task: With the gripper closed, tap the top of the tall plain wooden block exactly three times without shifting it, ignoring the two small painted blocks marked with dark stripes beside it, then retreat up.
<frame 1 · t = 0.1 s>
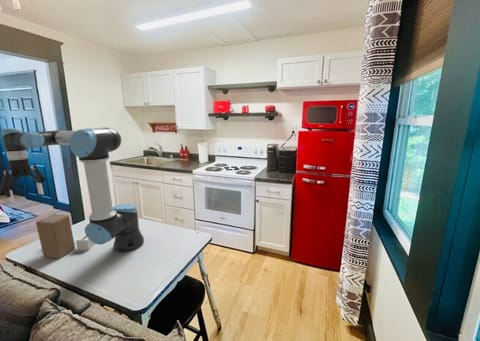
hand: (27, 198, 123), 28 cm above the table, fingers open, 13 cm apart
grey marked cube: (87, 247, 127), on the table
wooden block: (60, 253, 122), on the table
sage marked block: (63, 243, 131), on the table
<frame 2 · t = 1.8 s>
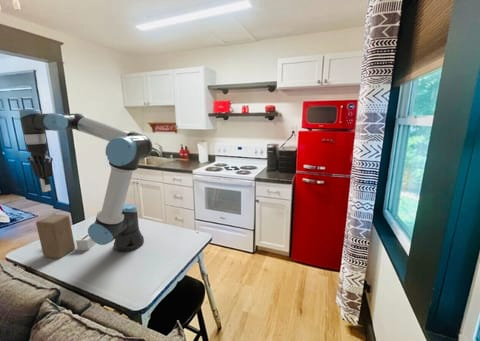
hand: (46, 190, 114), 34 cm above the table, fingers closed
nothing on the table moved.
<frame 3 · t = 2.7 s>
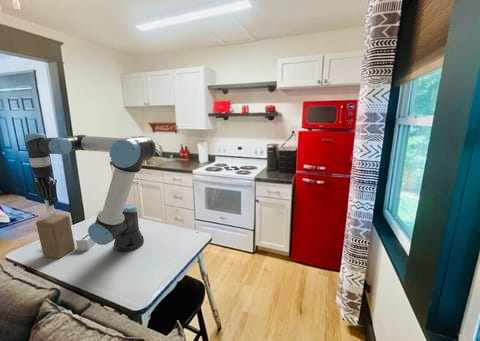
hand: (51, 211, 116), 24 cm above the table, fingers closed
nothing on the table moved.
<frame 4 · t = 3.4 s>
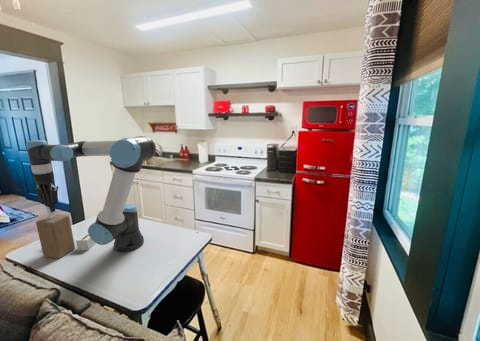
hand: (52, 217, 117), 20 cm above the table, fingers closed
wooden block: (60, 253, 122), on the table, touching gripper
everything else where it was.
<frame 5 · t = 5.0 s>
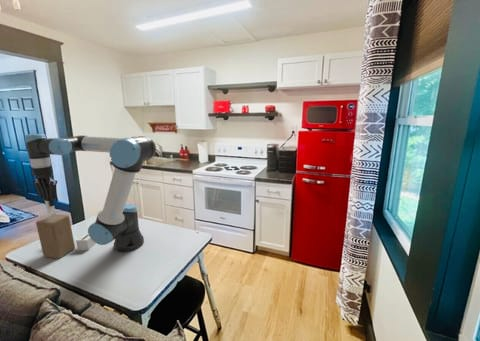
hand: (51, 211, 116), 23 cm above the table, fingers closed
wooden block: (60, 253, 122), on the table
everything else where it was.
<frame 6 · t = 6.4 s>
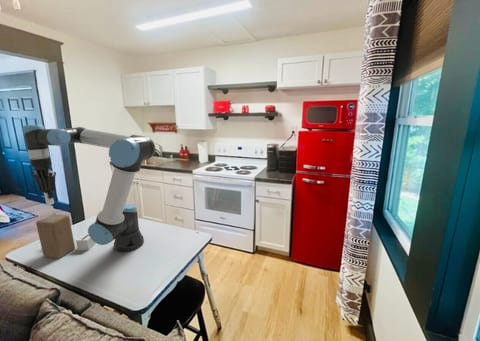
hand: (50, 204, 115), 27 cm above the table, fingers closed
nothing on the table moved.
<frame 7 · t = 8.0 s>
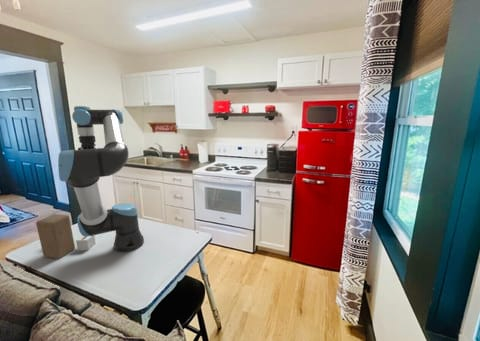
hand: (93, 176, 132), 36 cm above the table, fingers closed
nothing on the table moved.
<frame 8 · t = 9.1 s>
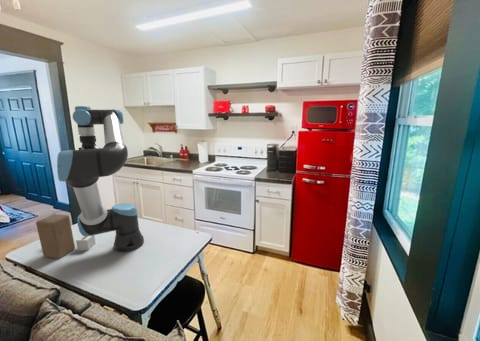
hand: (93, 176, 132), 36 cm above the table, fingers closed
nothing on the table moved.
at the end: wooden block moved 0.2 cm from its start; wooden block tilted 0°; grey marked cube moved 0.1 cm from its start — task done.
